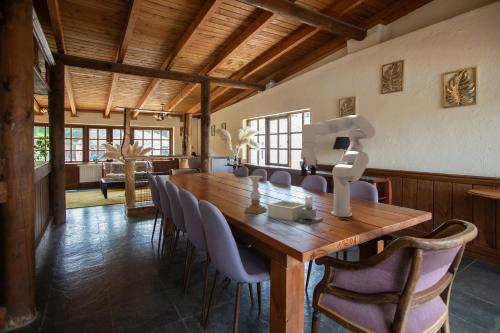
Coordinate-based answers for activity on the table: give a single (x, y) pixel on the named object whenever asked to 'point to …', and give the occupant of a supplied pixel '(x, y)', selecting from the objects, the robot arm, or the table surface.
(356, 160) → the robot arm
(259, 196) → the candle holder
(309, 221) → the stud base
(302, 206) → the bin
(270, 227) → the table surface
